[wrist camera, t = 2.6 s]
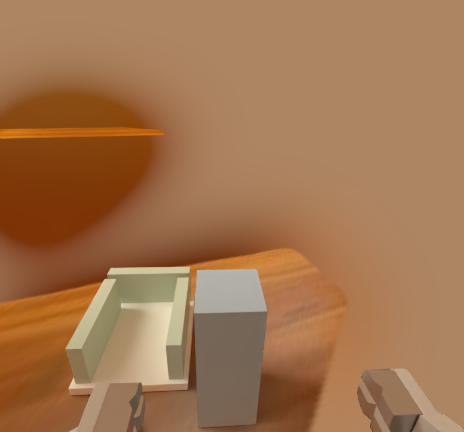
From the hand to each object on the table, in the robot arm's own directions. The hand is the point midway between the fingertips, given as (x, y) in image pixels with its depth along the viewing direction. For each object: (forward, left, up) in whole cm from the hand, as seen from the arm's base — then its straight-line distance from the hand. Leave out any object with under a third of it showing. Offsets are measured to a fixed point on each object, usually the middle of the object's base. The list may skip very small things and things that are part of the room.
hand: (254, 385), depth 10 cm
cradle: (-10, +20, -19) cm, 30 cm away
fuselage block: (0, +12, -19) cm, 23 cm away
